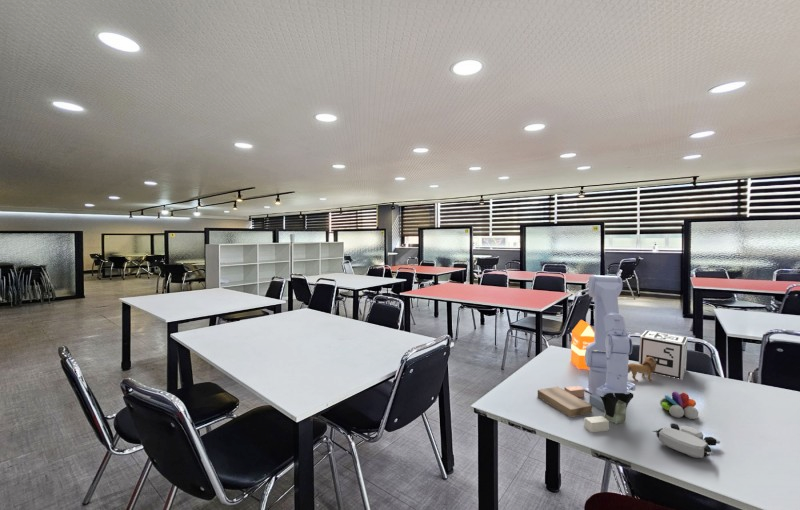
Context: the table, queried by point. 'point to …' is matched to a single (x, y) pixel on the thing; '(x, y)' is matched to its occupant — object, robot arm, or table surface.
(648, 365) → the lion figurine
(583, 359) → the orange juice
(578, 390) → the terracotta brick
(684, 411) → the colorful egg cluster
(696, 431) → the robot toy
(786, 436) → the table surface
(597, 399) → the slate brick
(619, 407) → the sage block
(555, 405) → the walnut slab
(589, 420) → the cream brick
